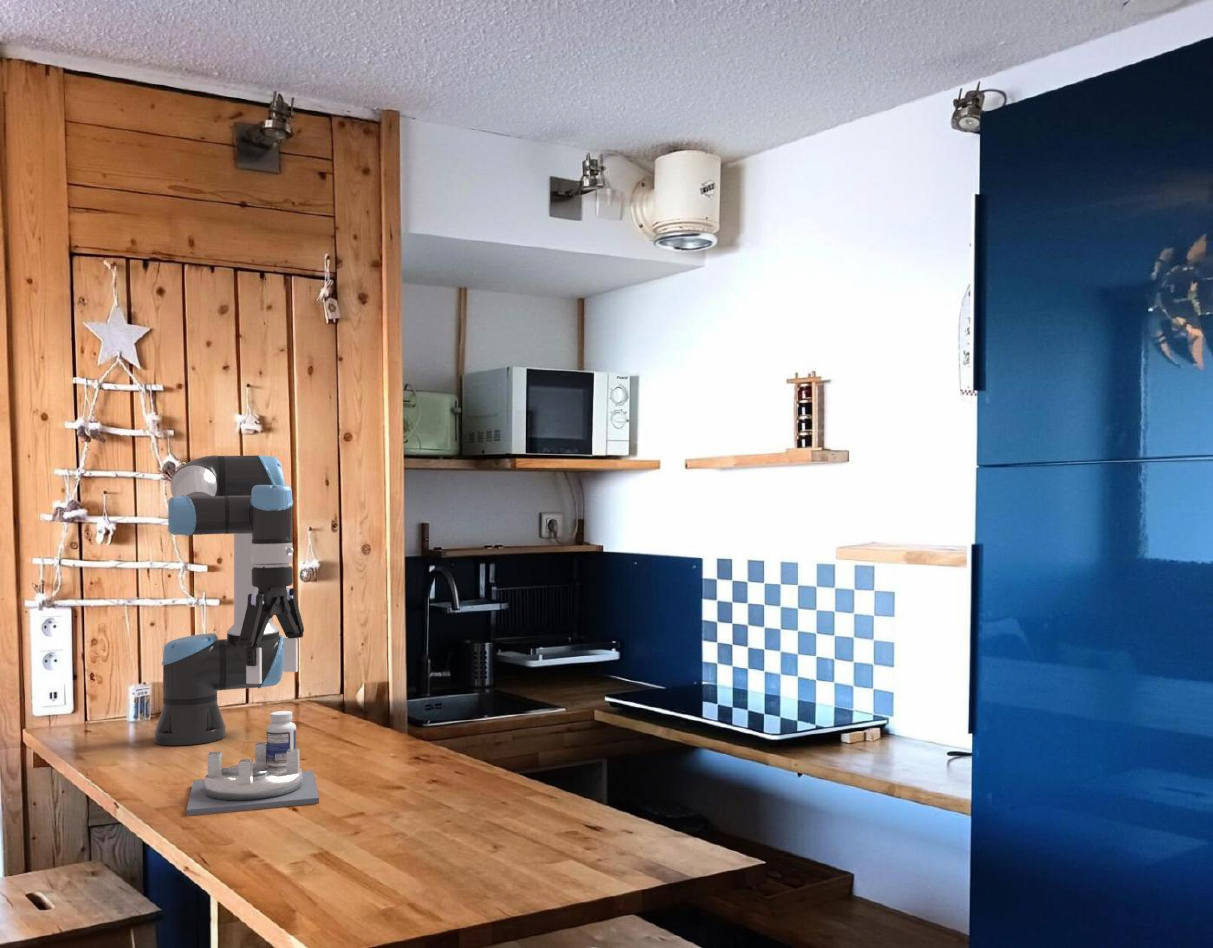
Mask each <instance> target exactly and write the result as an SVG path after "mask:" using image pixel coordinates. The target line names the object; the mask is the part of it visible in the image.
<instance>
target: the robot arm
mask: <svg viewBox="0 0 1213 948" xmlns="http://www.w3.org/2000/svg"><path fill="white" fill-rule="evenodd" d="M282 467H283V466H282V464H281V461H280V460H279V459H278V458H277V457H275V456H271V455H260V454H258V455H256V454H255V455H214V454H213V455H206V456H201V457H198V458H195V459H192V460H190V461H188V462H186V463H184V464H183V465H181V466H180V467H179V468H178V469H176V471H175V472H174V474H173V475H172V477H171V480H170V492H171V494H172V496H171V497H170V498H169V499H168V502H167V503H168V504H167V505H168V506H167V514H168V515H167V516H168V517H167V525H168V527H167V528H168V532H169V534H171V535H175V536H176V535H177V536H186V537H189V536H193V535H194V536H196V535H197V536H198V535H233V625H231V626H230V627H229V628H228V630H227V631H226V638H224V639H223V638H222V639H219V637H218V635H217V634H216V633H211V632H209V633H201V634H200V633H199V634H194V635H188V636H184V637H181V638H180V637H179V638H177V639H172V640H170V641H168V642H167V643H166V644H165V645H164V647H163V651H162V653H163V654H162V662H161V665H162V667H163V668H162V679H163V680H162V710H161V713H160V715H159V718H158V721H157V725H156V727H155V731H154V743H155V744H158V745H161V746H162V745H164V746H191V745H200V744H208V743H212V742H215V741H218V740H221V739H223V738H225V737H226V734H227V733H226V724H225V721H224V718H223V715H222V713H221V709H220V707H219V704H218V691H228V690H244V689H256V688H257V689H262V688H267V687H274V686H276V685H278V684H279V683H280V682H281V680H282V677H283V675H284V673H297V672H298V671H299V659H298V658H299V649H298V647H299V644H298V643H299V641H298V640H299V639H298V638H300V639H301V638H303V637H304V633H305V628H304V623H303V620H302V616H301V613H300V608H299V605H298V601H297V591H296V588H295V587H293V588H291V586H292V585H293V584H294V568H293V567H292V566H290V564H292V563H293V553H294V548H293V505H294V500H293V490H292V487H291V486H290V485H288V484H286V482H285V477H284V476H285V475H284V471H283V468H282ZM289 586H290V587H289ZM274 616H275V617H276V618H277V620H278V623H279V625H280V627H281V629H282V631H283V633H284V635H285V636H284V635H281V634H280V628H279V627H278V626H277V625H276V624H274V622H273V618H274Z"/></svg>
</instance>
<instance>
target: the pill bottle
mask: <svg viewBox="0 0 1213 948" xmlns="http://www.w3.org/2000/svg"><path fill="white" fill-rule="evenodd" d="M292 720H293V712H292V711H290V710H280V711H279V710H278V711H273V712H271V713H270V722H271V723H270V724H268V726H267V727H266V742H267V764H268V765H269V766H272V767H284V766H287V754H286V752H287V750H288V749H297V725H296V724H295V723H294V722H292Z"/></svg>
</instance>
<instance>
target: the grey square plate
mask: <svg viewBox="0 0 1213 948" xmlns="http://www.w3.org/2000/svg"><path fill="white" fill-rule="evenodd" d="M315 776H316V775H315V772H314V770H306V771H303V770H302V786H301V787H299V788H298V789H296V790H294V791H292V792H289V793H285V794H282V795H278V796H273V797H267V798H259V799H248V800H225V799H217V798H212V797H209V796H208V795H206V794H205V779H199V780H193V781H192V784H191V785H192V787H191V788H190V789H191V790H190V792H189V793H190V794H189V799H188V802H187V806H186V816H188V817H189V816H198V815H209V814H219V813H221V814H222V813H231V812H242V811H252V810H262V809H274V808H285V807H286V808H287V807H294V806H305V805H315V804H316V805H317V804H320V796H319V791H318V786H317V782H316V777H315Z"/></svg>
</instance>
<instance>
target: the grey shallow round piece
mask: <svg viewBox="0 0 1213 948" xmlns="http://www.w3.org/2000/svg"><path fill="white" fill-rule="evenodd" d="M254 751H255V752H254V753H255V754H254V757H255V759H253V758H246V759H245V758H243V759H242V758H241V759H240V760H239V761H238V765H232V766H227V767H222V763H223V762H222V759H223V758H222V751H211V752H209V753H207V774H206V775H205V776H204V780H205V794H206V795H208V796H209V797H212V798H217V799H225V800H248V799H259V798H267V797H273V796H278V795H282V794H285V793H289V792H292V791H294V790H296V789H298V788H299V787H301V786H302V772H303V768H302V767H301V766H300V765H301V764H300V763H301V761H300V760H301V759H300V758H301V757H300V748H296V749H288V750H287V752H286V754H287V766H284V767H272V766H269V765H268V764H267V741H264V742H262V741H260V742H259V741H258V742H256V743H255V745H254ZM253 760H255V761H254V762H253Z"/></svg>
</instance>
